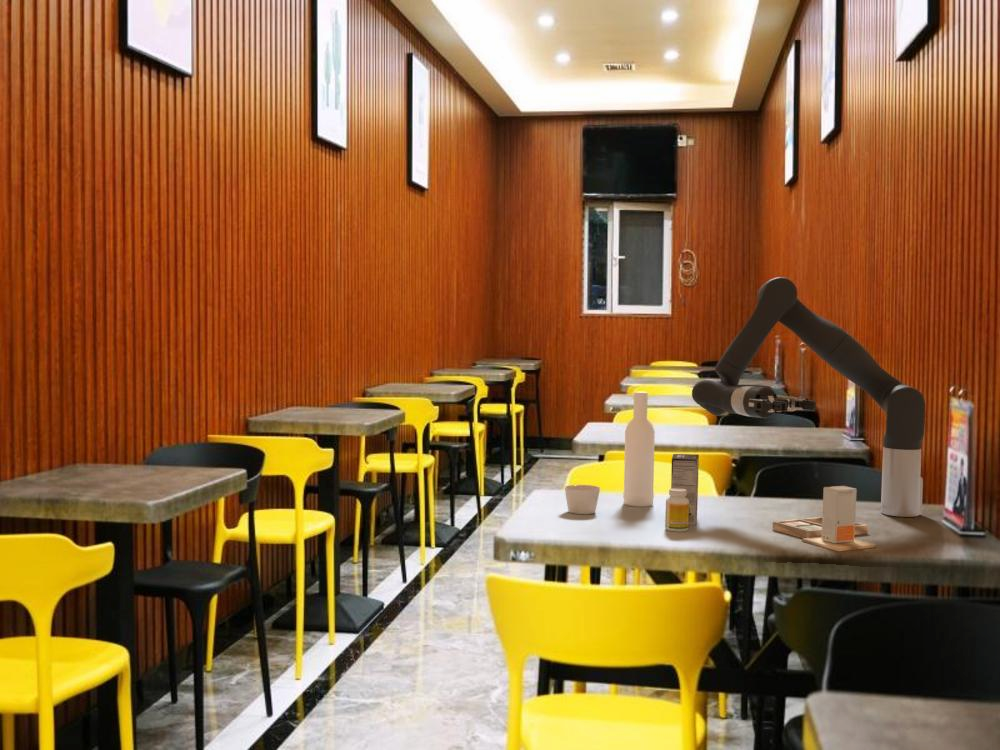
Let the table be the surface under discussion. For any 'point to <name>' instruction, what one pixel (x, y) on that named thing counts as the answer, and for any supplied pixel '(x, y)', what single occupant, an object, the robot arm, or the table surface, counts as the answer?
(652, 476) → the bottle
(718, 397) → the robot arm
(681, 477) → the coffee box
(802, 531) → the light wood flat frame
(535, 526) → the table surface
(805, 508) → the table surface
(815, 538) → the coaster
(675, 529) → the supplement bottle
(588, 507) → the beige cup
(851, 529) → the skincare box
